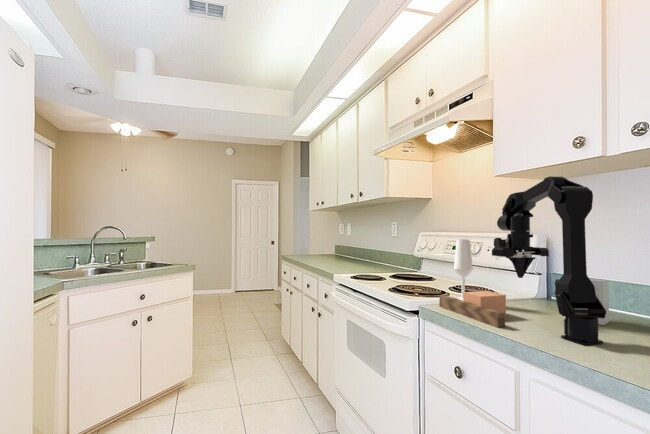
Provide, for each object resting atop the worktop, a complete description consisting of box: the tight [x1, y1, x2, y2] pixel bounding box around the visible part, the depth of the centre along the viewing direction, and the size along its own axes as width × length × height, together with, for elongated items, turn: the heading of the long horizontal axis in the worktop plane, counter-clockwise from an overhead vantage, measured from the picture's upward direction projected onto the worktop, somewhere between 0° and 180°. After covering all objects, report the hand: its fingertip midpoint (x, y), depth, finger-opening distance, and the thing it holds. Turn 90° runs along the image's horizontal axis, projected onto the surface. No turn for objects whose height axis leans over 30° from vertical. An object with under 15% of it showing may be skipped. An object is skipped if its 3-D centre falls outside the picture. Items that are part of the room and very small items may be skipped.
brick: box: [463, 290, 507, 318], centre depth 118 cm, size 8×10×7 cm
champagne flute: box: [453, 238, 474, 300], centre depth 136 cm, size 7×7×24 cm
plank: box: [438, 294, 506, 329], centre depth 116 cm, size 28×2×4 cm, turn 17°
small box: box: [588, 277, 610, 326], centre depth 111 cm, size 8×6×13 cm
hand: (520, 277), depth 119 cm, fingers closed
